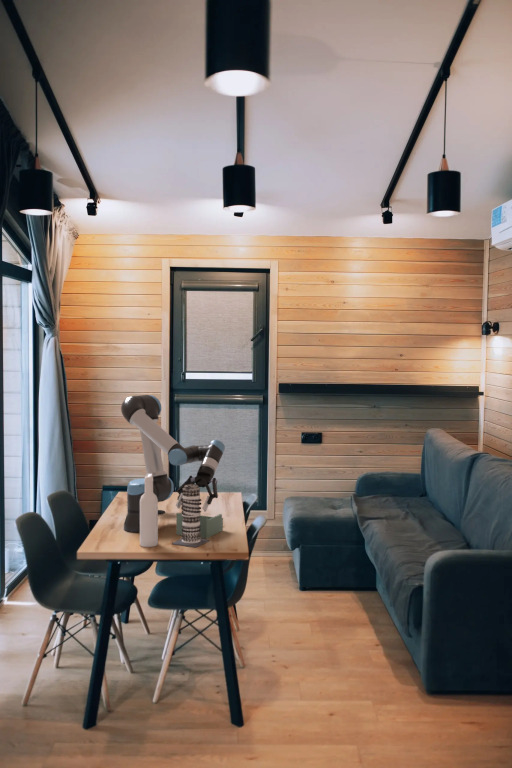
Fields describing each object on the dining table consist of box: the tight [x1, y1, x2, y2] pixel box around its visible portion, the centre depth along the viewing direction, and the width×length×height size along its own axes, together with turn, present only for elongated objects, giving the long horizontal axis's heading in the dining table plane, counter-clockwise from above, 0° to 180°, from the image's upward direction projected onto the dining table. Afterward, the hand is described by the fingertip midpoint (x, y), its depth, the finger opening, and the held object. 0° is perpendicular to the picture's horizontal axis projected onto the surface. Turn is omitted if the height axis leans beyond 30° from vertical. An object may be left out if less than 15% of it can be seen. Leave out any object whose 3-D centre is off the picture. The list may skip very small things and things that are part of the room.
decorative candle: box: [180, 483, 202, 544], centre depth 283 cm, size 9×9×25 cm
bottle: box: [139, 476, 159, 548], centre depth 279 cm, size 8×8×30 cm
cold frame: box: [175, 512, 224, 539], centre depth 301 cm, size 16×16×10 cm
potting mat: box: [171, 538, 210, 548], centre depth 283 cm, size 12×12×1 cm
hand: (190, 508), depth 282 cm, fingers open, 13 cm apart
